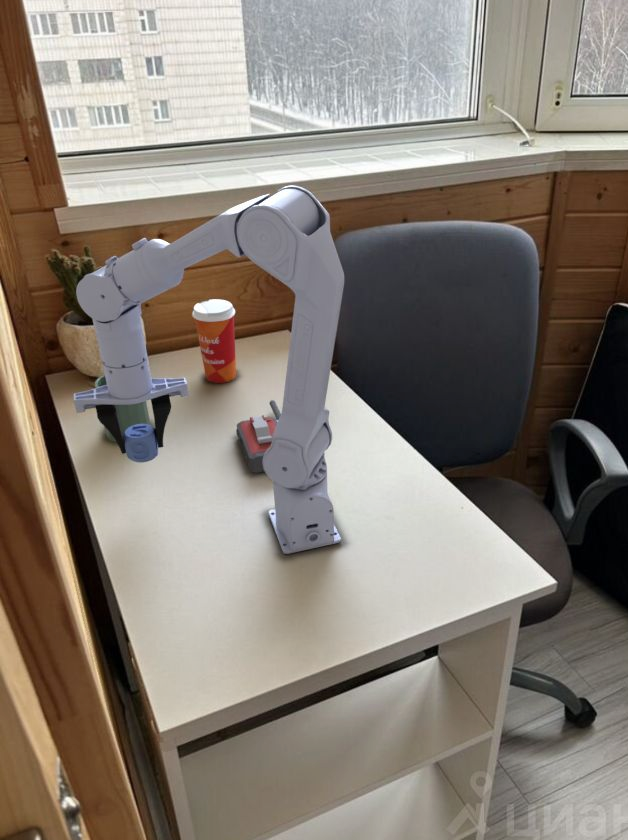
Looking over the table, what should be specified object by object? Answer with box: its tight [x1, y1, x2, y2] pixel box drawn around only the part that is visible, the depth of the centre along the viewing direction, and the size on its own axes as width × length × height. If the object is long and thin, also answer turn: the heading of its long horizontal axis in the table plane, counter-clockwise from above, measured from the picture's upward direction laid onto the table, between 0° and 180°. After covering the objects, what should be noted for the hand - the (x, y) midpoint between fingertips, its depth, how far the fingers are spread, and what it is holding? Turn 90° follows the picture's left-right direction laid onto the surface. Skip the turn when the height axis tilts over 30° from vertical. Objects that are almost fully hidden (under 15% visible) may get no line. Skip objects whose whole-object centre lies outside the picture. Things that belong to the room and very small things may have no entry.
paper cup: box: [191, 298, 237, 384], centre depth 133 cm, size 8×8×14 cm
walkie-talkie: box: [235, 399, 282, 474], centre depth 117 cm, size 9×4×20 cm
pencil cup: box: [94, 373, 152, 443], centre depth 118 cm, size 7×7×10 cm
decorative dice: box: [124, 424, 159, 463], centre depth 101 cm, size 4×4×4 cm
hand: (142, 446), depth 101 cm, fingers closed on decorative dice, 4 cm apart
